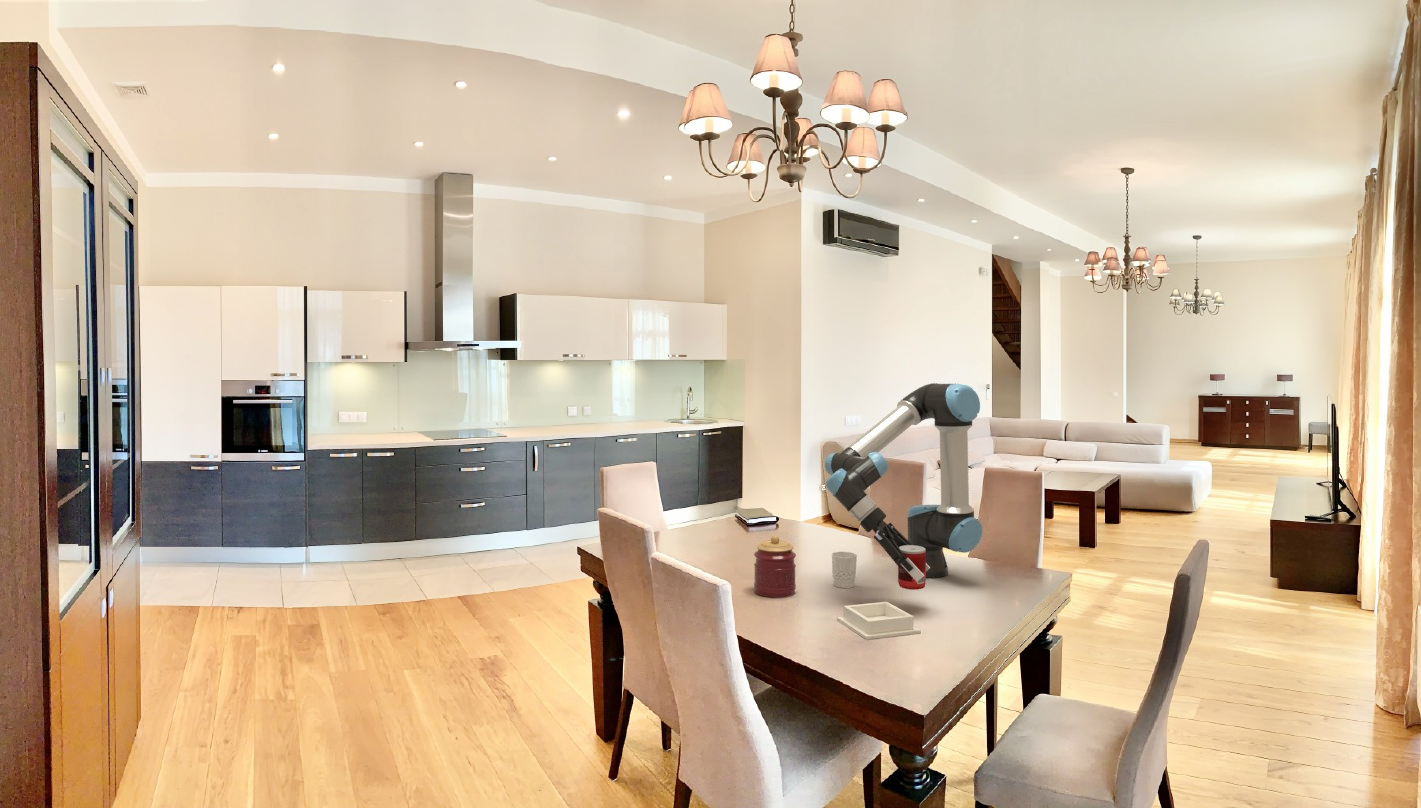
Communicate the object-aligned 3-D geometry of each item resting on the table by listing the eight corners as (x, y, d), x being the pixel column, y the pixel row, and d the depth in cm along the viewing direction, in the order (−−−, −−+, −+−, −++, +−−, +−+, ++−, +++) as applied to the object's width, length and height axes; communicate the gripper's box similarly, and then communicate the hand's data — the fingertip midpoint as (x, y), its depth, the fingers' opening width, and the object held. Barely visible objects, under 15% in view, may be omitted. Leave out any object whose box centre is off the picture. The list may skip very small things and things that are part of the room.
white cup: (856, 589, 239) (856, 558, 239) (830, 588, 241) (831, 556, 241) (856, 582, 247) (856, 552, 247) (832, 581, 249) (832, 550, 248)
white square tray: (888, 614, 215) (888, 599, 215) (920, 633, 200) (920, 617, 200) (837, 620, 210) (837, 604, 210) (866, 639, 195) (866, 623, 195)
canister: (802, 596, 232) (802, 538, 231) (762, 599, 229) (762, 541, 228) (786, 584, 245) (786, 530, 244) (748, 587, 241) (748, 532, 240)
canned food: (926, 583, 222) (926, 545, 221) (924, 591, 214) (924, 552, 214) (899, 580, 224) (899, 544, 224) (896, 588, 217) (896, 550, 216)
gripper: (868, 516, 235) (921, 573, 228) (849, 529, 216) (906, 592, 210) (885, 500, 232) (940, 557, 225) (867, 512, 213) (925, 575, 207)
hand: (923, 574), depth 218 cm, fingers closed on canned food, 8 cm apart
